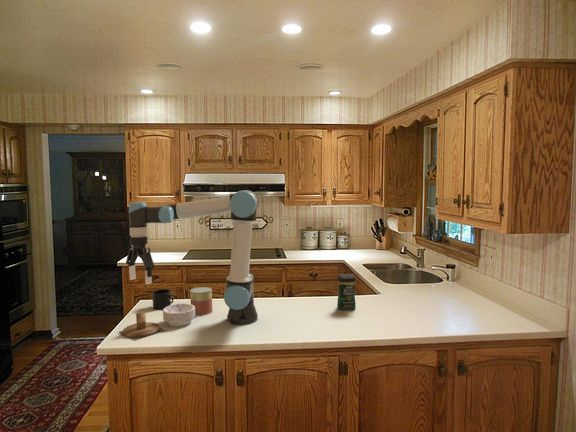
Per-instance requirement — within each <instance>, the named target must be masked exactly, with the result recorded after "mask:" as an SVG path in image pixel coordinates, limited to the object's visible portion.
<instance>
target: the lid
mask: <svg viewBox="0 0 576 432" xmlns="http://www.w3.org/2000/svg"><path fill="white" fill-rule="evenodd" d="M135 318H136V319H135V321H136V323H133V324H130V325H128V326H125V327H124V328H123V329H122V331H123V335H124V336H123V335H122V336H123V337H125V338H127V337H129V338H141V337H145V338H147V336H148V337H150V336H154V335H157V334H158V333H157V332H159V330H160V328H161V327H160V324H158V323H156V322H147V319H146V312H145V311H140V312H136V313H135ZM156 333H157V334H156ZM153 334H154V335H153ZM129 338H128V339H129Z"/></svg>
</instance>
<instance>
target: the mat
mask: <svg viewBox="0 0 576 432" xmlns="http://www.w3.org/2000/svg"><path fill="white" fill-rule="evenodd" d="M166 331H167V330H166V329H165V328H162V327H160V330H159V332H157V333H156V334H153V335H152V336H154V335H157V334H160V333H164V332H166ZM118 332H119V333H120V334H121V336H123V337H125V336H124V335H123V330H120V331H118ZM120 334H119V335H120ZM147 337H149V336H147ZM147 337H141V338H129V337H126V338H127V339H130V340H131V341H134V342H135V341H139V340H142V339H145V338H147Z"/></svg>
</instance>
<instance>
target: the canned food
mask: <svg viewBox="0 0 576 432" xmlns="http://www.w3.org/2000/svg"><path fill="white" fill-rule="evenodd" d="M212 291H213V289H212V288H211V287H208V286H207V287H206V286H204V287H203V286H201V287H194V288H191V289H190V290H189V292H190V304H191V305H194V306H195V316H206V315H210V314H212V313H213V292H212Z"/></svg>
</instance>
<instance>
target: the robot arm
mask: <svg viewBox="0 0 576 432" xmlns="http://www.w3.org/2000/svg"><path fill="white" fill-rule="evenodd" d="M259 204H260V201H259V197H258V195H257V194H256V193H255V192H254V191H251V190H249V189H244V190H239V191H236V192H235V193H230V194H229V195H227V196H222V197H216V198H207V199H201V200H194V201H188V202H187V201H185V202H179V203H172V204H165V205H160V206H159V205H158V206H147V203H146V202H140V201H139V202H131V203H130V202H129V204H128V219H129V220H128V221H129V236H130V237H129V242H130V243H129V244H130V245H129V246H128V252H127V256H126V260H125V264H126V265H127V266H128V271H129V272H128V273H129V281H133V280H136V279H137V276H136V273H137V272H136V262H137V259H138V258H139V259H141V262H142V263H143V266H144V268H145V269H144V277H145V278H144V279H145V281H144V282H145V285H150V284H153V281H152V279H153V277H152V276H153V275H152V274H153V273H152V271H153V269H155V263H154V260H153V257H152V254H151V248H150V247H146V245H148V236H147V235H148V224H168V223H169V224H170V223H172V222H173V221H174V220H181V219H188V218H194V217H203V216H210V215H211V216H212V215H218V214H224V213H230V221H231V222H232V223H233V226H232V239H231V241H232V242H231V253H230V254H231V256H230V271H229V275H228V276H227V277H226V279H225V291H224V293H223V301H224V303H225V304H226V306H227V307H228V308H229V309H228V313H227V315H226V321H227V322H228V323H230V324H233V325H248V324H252V323H255V322H256V321H258V312H257V310H256V306H255V301H254V299H255V298H254V275H253V274H252V273H250V262H251V251H252V250H251V247H252V234H253V233H252V232H253V225H254V224H255V222H256V221H257V212H258V211H257V210H258V208H259Z"/></svg>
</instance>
